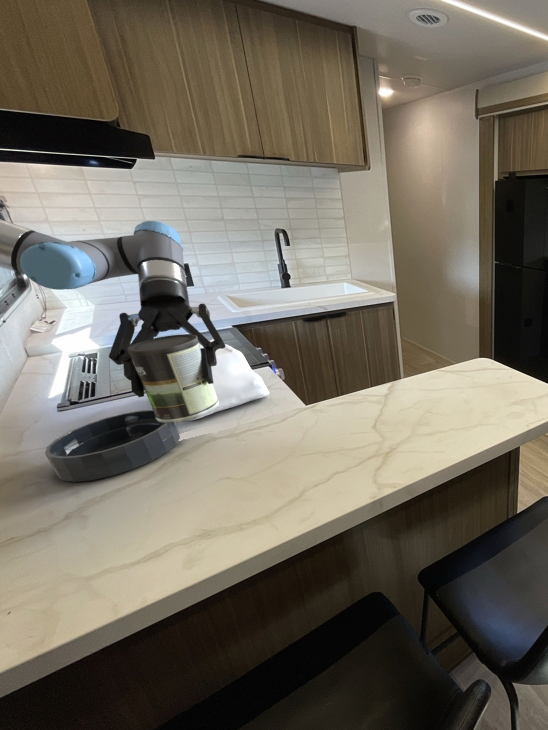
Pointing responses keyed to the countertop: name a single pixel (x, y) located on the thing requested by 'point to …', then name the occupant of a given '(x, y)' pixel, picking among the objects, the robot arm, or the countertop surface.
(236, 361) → the white bag
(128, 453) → the shallow grey round dish
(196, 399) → the coffee can
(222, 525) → the countertop surface
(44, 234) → the robot arm
